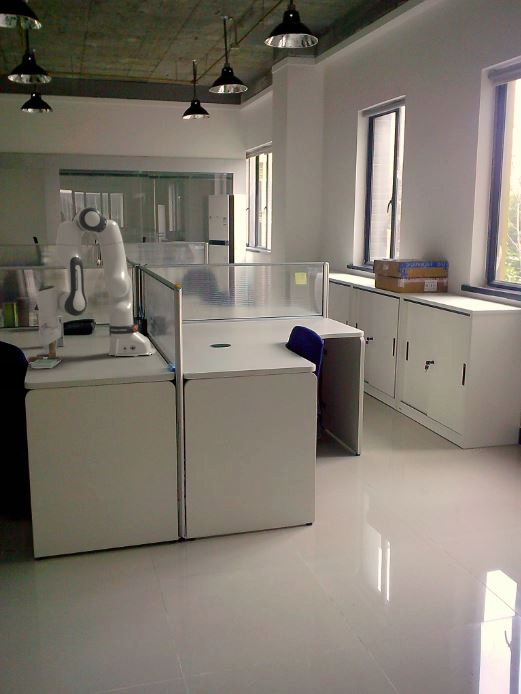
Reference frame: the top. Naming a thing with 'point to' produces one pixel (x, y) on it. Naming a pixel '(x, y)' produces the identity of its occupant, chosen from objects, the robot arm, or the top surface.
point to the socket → (56, 358)
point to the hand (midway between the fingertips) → (50, 351)
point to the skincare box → (61, 340)
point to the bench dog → (35, 358)
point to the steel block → (43, 354)
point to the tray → (44, 363)
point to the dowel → (52, 351)
